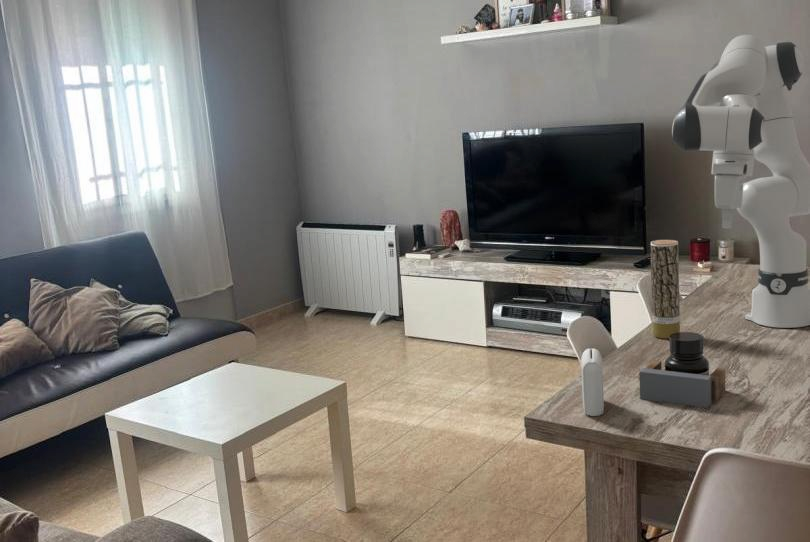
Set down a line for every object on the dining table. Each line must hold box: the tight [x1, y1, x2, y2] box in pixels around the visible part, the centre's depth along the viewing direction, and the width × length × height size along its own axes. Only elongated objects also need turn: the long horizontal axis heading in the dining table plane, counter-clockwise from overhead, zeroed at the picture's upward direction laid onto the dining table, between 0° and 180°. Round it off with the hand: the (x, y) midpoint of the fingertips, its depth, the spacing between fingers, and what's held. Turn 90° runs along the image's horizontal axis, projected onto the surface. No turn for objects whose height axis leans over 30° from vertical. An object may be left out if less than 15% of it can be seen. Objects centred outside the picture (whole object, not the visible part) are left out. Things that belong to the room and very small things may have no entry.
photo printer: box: [580, 348, 605, 417], centre depth 170 cm, size 10×4×12 cm, turn 168°
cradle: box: [646, 360, 726, 405], centre depth 175 cm, size 8×15×5 cm, turn 55°
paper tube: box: [650, 239, 681, 340], centre depth 213 cm, size 7×7×25 cm
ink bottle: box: [664, 331, 710, 376], centre depth 175 cm, size 10×9×12 cm
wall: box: [638, 367, 713, 409], centre depth 170 cm, size 2×14×6 cm, turn 55°
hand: (726, 228), depth 188 cm, fingers closed
